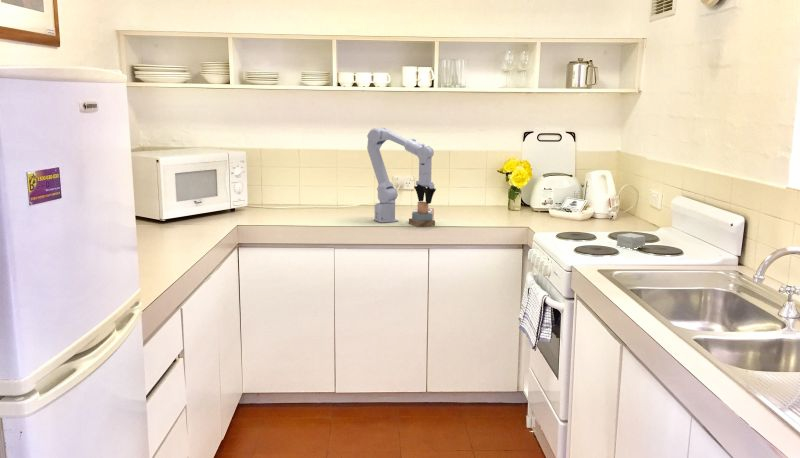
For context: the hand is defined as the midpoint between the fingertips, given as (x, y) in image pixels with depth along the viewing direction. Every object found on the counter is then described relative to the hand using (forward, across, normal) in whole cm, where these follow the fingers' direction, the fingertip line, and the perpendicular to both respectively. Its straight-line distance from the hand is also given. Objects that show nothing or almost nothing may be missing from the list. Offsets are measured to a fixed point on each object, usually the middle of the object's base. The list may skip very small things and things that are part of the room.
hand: (424, 202), depth 312 cm
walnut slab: (+11, 0, +1) cm, 11 cm away
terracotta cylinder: (+5, 0, +1) cm, 5 cm away
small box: (+11, -75, -54) cm, 93 cm away
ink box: (+8, +17, -9) cm, 21 cm away
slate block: (+8, 0, +1) cm, 8 cm away
